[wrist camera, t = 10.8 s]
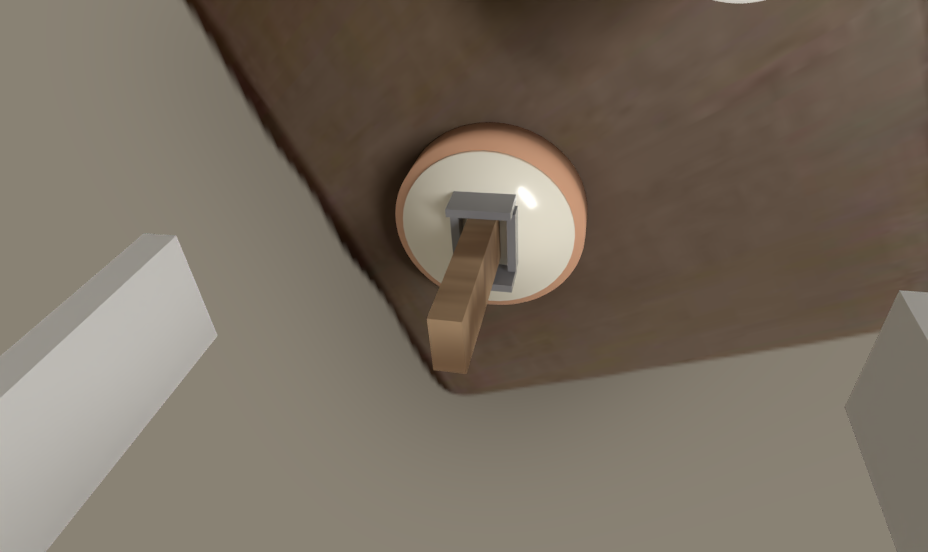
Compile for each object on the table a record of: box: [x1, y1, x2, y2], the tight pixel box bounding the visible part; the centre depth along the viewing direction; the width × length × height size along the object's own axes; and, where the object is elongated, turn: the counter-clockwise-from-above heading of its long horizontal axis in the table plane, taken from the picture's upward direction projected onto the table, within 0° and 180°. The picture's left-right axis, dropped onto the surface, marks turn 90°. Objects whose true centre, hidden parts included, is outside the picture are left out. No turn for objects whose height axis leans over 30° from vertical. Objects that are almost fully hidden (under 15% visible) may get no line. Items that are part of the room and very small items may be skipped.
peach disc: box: [395, 122, 588, 305], centre depth 44 cm, size 14×14×6 cm
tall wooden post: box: [427, 218, 501, 374], centre depth 39 cm, size 4×2×12 cm, turn 4°
